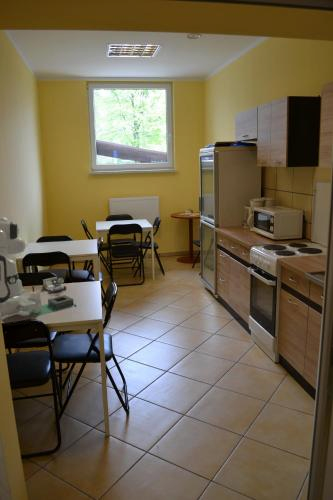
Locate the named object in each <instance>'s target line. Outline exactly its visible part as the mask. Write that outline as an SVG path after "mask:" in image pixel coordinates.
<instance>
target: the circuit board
mask: <svg viewBox="0 0 333 500" xmlns="http://www.w3.org/2000/svg"><path fill="white" fill-rule="evenodd" d="M41 306H42V312H38V313H34V312H32V310H29V311H27V312H28V313H30V315H32V316H34V317H40V316H43V315H46V314H49V313H50V314H51V313H54V312H56V311H60V310H64V309H67V308H70V307H75V308H76V307H77V304H76V303H74V305H70V306H67V307H63V308H60V309H55V308H53V307H51V306H50V305H48V303H47V304H41Z"/></svg>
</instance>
